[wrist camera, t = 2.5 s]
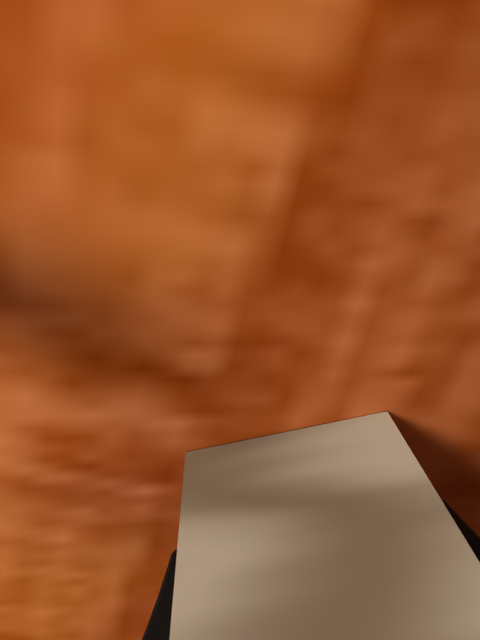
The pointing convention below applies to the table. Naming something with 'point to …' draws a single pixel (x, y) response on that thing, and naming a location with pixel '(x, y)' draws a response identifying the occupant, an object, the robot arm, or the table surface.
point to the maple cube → (320, 542)
